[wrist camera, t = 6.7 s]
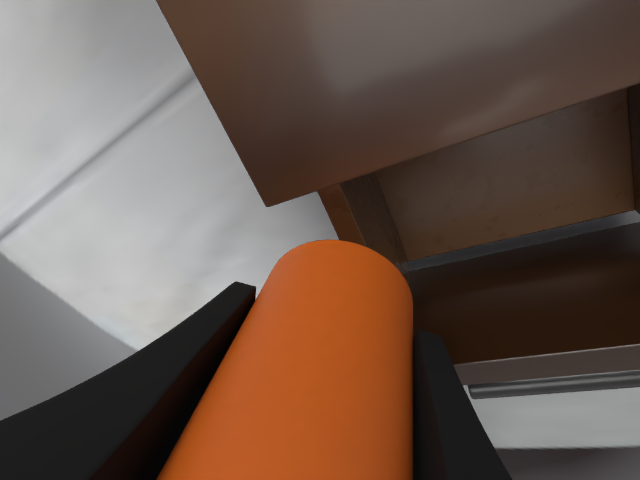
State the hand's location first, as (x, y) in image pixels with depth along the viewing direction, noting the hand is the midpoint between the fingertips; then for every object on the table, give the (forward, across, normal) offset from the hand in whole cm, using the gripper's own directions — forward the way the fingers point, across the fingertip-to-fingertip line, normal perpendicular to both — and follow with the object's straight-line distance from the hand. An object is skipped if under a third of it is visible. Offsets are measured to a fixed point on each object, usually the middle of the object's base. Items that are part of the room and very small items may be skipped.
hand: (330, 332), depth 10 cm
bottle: (+1, 0, 0) cm, 1 cm away
